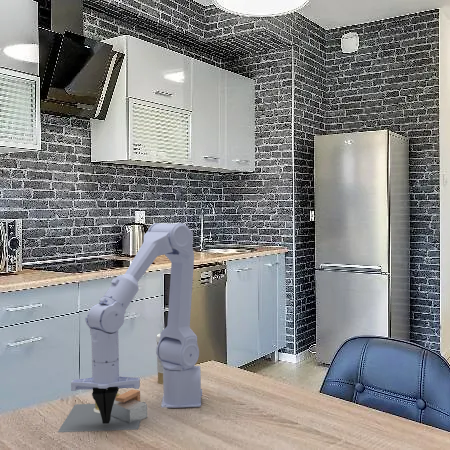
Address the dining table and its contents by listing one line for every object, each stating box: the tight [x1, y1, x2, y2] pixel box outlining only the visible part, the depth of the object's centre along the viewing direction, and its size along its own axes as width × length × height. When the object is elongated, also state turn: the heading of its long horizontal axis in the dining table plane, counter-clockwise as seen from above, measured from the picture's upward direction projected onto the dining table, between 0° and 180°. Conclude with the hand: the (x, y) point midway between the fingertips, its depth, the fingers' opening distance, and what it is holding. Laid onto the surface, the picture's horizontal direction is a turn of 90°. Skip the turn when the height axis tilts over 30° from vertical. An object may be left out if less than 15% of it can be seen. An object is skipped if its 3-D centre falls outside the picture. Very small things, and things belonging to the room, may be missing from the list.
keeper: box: [115, 389, 141, 402], centre depth 128 cm, size 6×2×5 cm, turn 153°
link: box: [94, 392, 148, 423], centre depth 128 cm, size 13×5×3 cm, turn 47°
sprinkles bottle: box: [155, 333, 163, 385], centre depth 151 cm, size 5×5×13 cm
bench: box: [57, 401, 147, 433], centre depth 126 cm, size 17×17×3 cm
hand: (106, 421), depth 120 cm, fingers closed
